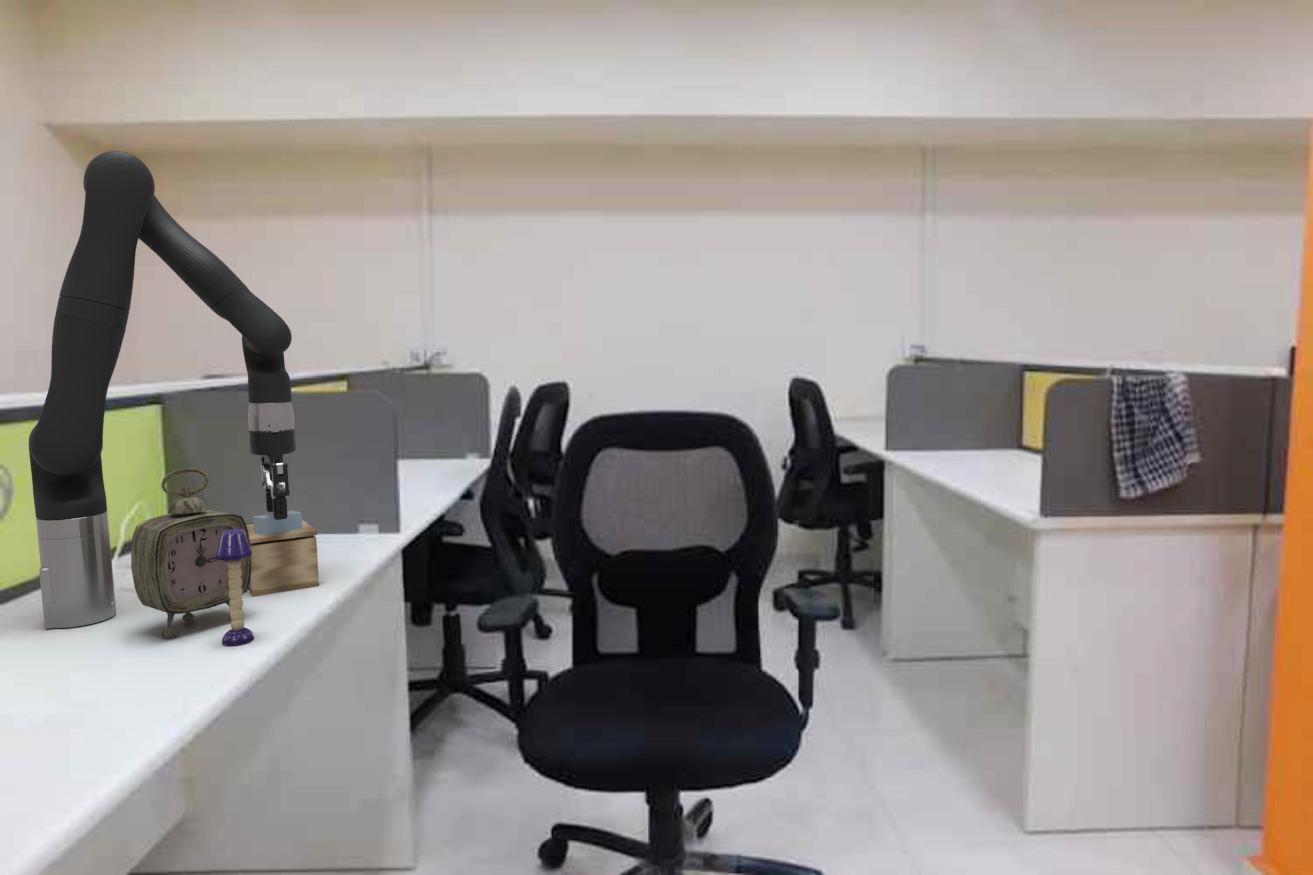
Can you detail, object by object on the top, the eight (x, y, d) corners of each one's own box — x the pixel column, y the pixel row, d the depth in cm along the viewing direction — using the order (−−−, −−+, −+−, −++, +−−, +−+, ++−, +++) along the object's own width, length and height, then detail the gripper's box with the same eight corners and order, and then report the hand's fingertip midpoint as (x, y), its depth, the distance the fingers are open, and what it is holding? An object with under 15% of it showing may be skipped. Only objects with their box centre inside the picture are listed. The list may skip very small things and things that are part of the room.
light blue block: (263, 535, 142) (262, 518, 142) (254, 532, 144) (252, 516, 144) (302, 528, 147) (301, 512, 147) (292, 526, 150) (291, 510, 149)
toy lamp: (224, 637, 120) (217, 528, 118) (259, 632, 121) (252, 525, 119) (219, 647, 115) (211, 535, 113) (255, 643, 117) (248, 532, 115)
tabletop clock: (160, 644, 117) (147, 476, 114) (131, 633, 122) (117, 472, 119) (255, 616, 129) (245, 464, 126) (225, 607, 134) (214, 460, 131)
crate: (252, 596, 140) (249, 546, 139) (241, 575, 153) (237, 530, 152) (319, 585, 146) (316, 537, 145) (302, 566, 159) (299, 522, 158)
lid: (247, 543, 139) (247, 539, 139) (236, 529, 152) (236, 525, 152) (317, 534, 145) (316, 530, 145) (301, 522, 158) (300, 518, 158)
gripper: (244, 425, 148) (249, 511, 150) (254, 431, 136) (259, 524, 138) (287, 423, 152) (292, 507, 154) (301, 429, 140) (306, 519, 142)
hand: (276, 515), depth 146 cm, fingers open, 8 cm apart
